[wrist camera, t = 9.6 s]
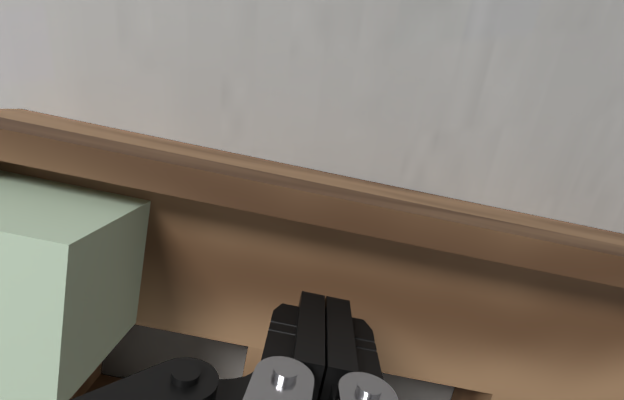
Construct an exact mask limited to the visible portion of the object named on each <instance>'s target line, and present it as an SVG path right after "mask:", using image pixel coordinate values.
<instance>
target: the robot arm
mask: <svg viewBox="0 0 624 400" xmlns="http://www.w3.org/2000/svg"><path fill="white" fill-rule="evenodd" d="M71 400H399V399H398V397H397V394H396V392H395V391H394V389H393V388H392V387H391V386H390V385H389V384H388V383H387V382H385V381H384V380H383V376H382V372H381V367H380V362H379V358H378V353H377V348H376V344H375V339H374V334H373V330H372V329H371V328H370V326H369V325H368V324H367V323H366V322H365V320H363V319H358V318H353V317H352V314H351V307H350V301H349V300H345V299H340V298H335V297H330V296H326V298H325V295H320V294H315V293H310V292H305V291H302V292H301V296H300V300H299V305H298V306H294V305H289V304H284V303H282V304H280V305H279V306H278V307H277V308H275V309H274V310H273V313H272V317H271V322H270V325H269V330H268V334H267V338H266V342H265V346H264V350H263V354H262V358H261V361H260V362H259V363H258V364H257V365H256V367H255V369H254V371H253V372H252V373H251V374H249V375H247V376H244V377H241V378H236V379H219V376H218V373H217V372H216V370H215V369H214V368H213V367H212V366H211V365H210V364H208V363H206V362H205V361H202V360H199V359H195V358H176V359H172V360H169V361H166V362H163V363H161V364H158V365H156V366H153V367H151V368H148V369H146V370H143V371H141V372H138V373H136V374H133V375H131V376H128V377H126V378H123V379H121V380H118V381H116V382H113V383H111V384H108V385H106V386H103V387H101V388H98V389H96V390H93V391H91V392H88V393H86V394H83V395H81V396H78V397H76V398H73V399H71Z"/></svg>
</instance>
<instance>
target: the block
mask: <svg viewBox="0 0 624 400" xmlns="http://www.w3.org/2000/svg"><path fill="white" fill-rule="evenodd" d="M150 203H151V201H149V200H144V199H139V198H134V197H129V196H124V195H120V194H115V193H110V192H105V191H100V190H95V189H90V188H85V187H80V186H75V185H70V184H65V183H60V182H56V181H51V180H46V179H41V178H36V177H31V176H26V175H21V174H16V173H11V172H6V171H1V170H0V400H69V399H70V398H71V397H72V396H73V395H74V394H75V392H76V391H77V390H78V389H79V388H80V387H81V386H82V384H83V383H84V382H85V381H86V380H87V379H88V377H89V376H90V375H91V374H92V373H93V372H94V371H95V369H96V368H97V367H98V366H99V365H100V364H101V362H102V361H103V360H104V359H105V358H106V357H107V355H108V354H109V353H110V352H111V351H112V350H113V349H114V347H115V346H116V345H117V344H118V343H119V342H120V340H121V339H122V338H123V337H124V336H125V335H126V333H127V332H128V331H129V330H130V329H131V328H132V327H133V325H134V324H135V323H136V318H137V310H138V302H139V293H140V285H141V277H142V269H143V261H144V252H145V244H146V236H147V228H148V220H149V212H150Z"/></svg>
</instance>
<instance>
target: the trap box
mask: <svg viewBox="0 0 624 400" xmlns="http://www.w3.org/2000/svg"><path fill="white" fill-rule="evenodd" d="M0 170H1V171H6V172H11V173H16V174H21V175H26V176H31V177H36V178H41V179H46V180H51V181H56V182H60V183H65V184H70V185H75V186H80V187H85V188H90V189H95V190H100V191H105V192H110V193H115V194H120V195H124V196H129V197H134V198H139V199H144V200H149V201H151V203H150V212H149V220H148V228H147V236H146V244H145V252H144V261H143V269H142V277H141V285H140V293H139V302H138V310H137V318H136V323H135V325H141V326H146V327H151V328H156V329H161V330H166V331H171V332H176V333H181V334H187V335H192V336H197V337H202V338H207V339H212V340H217V341H222V342H228V343H233V344H238V345H243V346H248V350H247V355H246V361H245V366H244V371H243V376H242V377H244V376H247V375H249V374H251V373H252V372H253V371H254V369H255V367H256V365H257V364H258V363H259V362H260V361H261V358H262V354H263V350H264V346H265V342H266V338H267V334H268V330H269V325H270V322H271V317H272V313H273V310H274V309H275V308H277V307H278V306H279V305H280V304H282V303H284V304H289V305H294V306H298V305H299V300H300V296H301V292H302V291H305V292H310V293H315V294H320V295H325V298H326V296H330V297H335V298H340V299H345V300H349V301H350V307H351V314H352V317H353V318H358V319H363V320H365V322H366V323H367V324H368V325H369V326H370V328H371V329H372V330H373V334H374V339H375V344H376V348H377V353H378V358H379V362H380V367H381V372H382V373H386V374H391V375H396V376H402V377H407V378H412V379H417V380H422V381H427V382H432V383H437V384H443V385H448V386H453V387H455V389H454V392H453V395H452V398H451V400H624V234H621V233H616V232H612V231H607V230H602V229H597V228H592V227H587V226H583V225H578V224H573V223H568V222H563V221H559V220H554V219H549V218H544V217H539V216H534V215H530V214H525V213H520V212H515V211H510V210H506V209H501V208H496V207H491V206H486V205H481V204H477V203H472V202H467V201H462V200H457V199H453V198H448V197H443V196H438V195H433V194H428V193H424V192H419V191H414V190H409V189H404V188H400V187H395V186H390V185H385V184H380V183H375V182H371V181H366V180H361V179H356V178H351V177H346V176H342V175H337V174H332V173H327V172H322V171H318V170H313V169H308V168H303V167H298V166H293V165H289V164H284V163H279V162H274V161H269V160H265V159H260V158H255V157H250V156H245V155H240V154H236V153H231V152H226V151H221V150H216V149H212V148H207V147H202V146H197V145H192V144H187V143H183V142H178V141H173V140H168V139H163V138H159V137H154V136H149V135H144V134H139V133H134V132H130V131H125V130H120V129H115V128H110V127H106V126H101V125H96V124H91V123H86V122H81V121H77V120H72V119H67V118H62V117H57V116H53V115H48V114H43V113H38V112H33V111H28V110H24V109H0ZM101 368H102V362H101V364H100V365H99V366H98V367H97V368H96V369H95V371H94V372H93V373H92V374H91V375H90V376H89V377H88V379H87V380H86V381H85V382H84V383H83V384H82V386H81V387H80V388H79V389H78V390H77V391H76V392H75V394H74V395H73V396H72V397H71V398H70V399H69V400H71V399H73V398H76V397H78V396H81V395H83V394H86V393H88V392H91V391H93V390H96V389H98V388H101V387H103V386H106V385H108V384H111V383H113V382H116V381H118V380H121V379H123V378H119V377H113V376H108V375H103V374H101Z"/></svg>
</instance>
